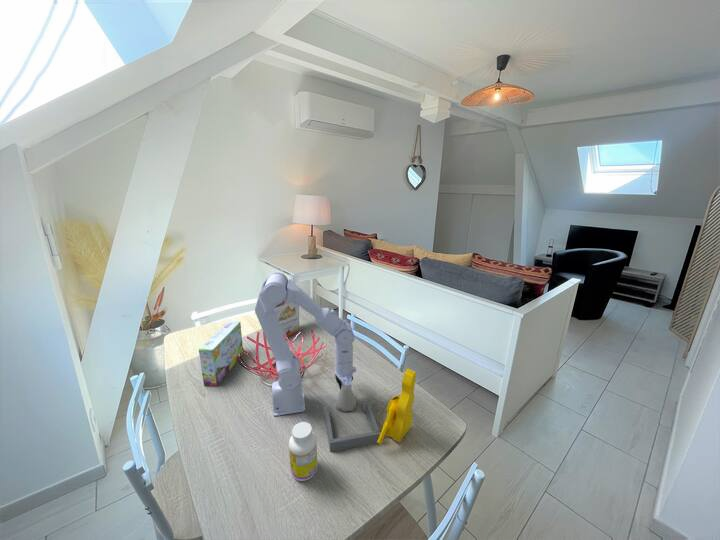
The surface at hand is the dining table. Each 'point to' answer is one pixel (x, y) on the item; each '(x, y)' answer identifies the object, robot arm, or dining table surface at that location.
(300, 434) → the supplement bottle
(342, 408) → the flask
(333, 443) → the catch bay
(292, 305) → the cracker box
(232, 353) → the snack box
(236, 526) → the dining table surface
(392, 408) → the figure statuette
